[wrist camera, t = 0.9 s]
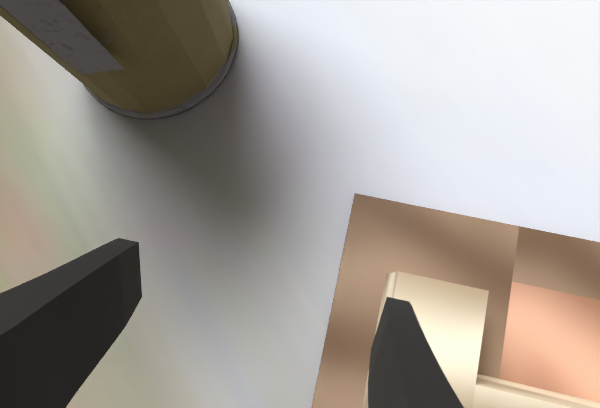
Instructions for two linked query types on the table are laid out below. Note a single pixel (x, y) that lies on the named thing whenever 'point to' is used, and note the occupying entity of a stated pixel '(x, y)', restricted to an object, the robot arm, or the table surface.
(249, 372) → the table surface
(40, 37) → the canister
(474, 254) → the brown rectangular board
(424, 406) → the robot arm
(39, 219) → the table surface
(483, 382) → the t block
